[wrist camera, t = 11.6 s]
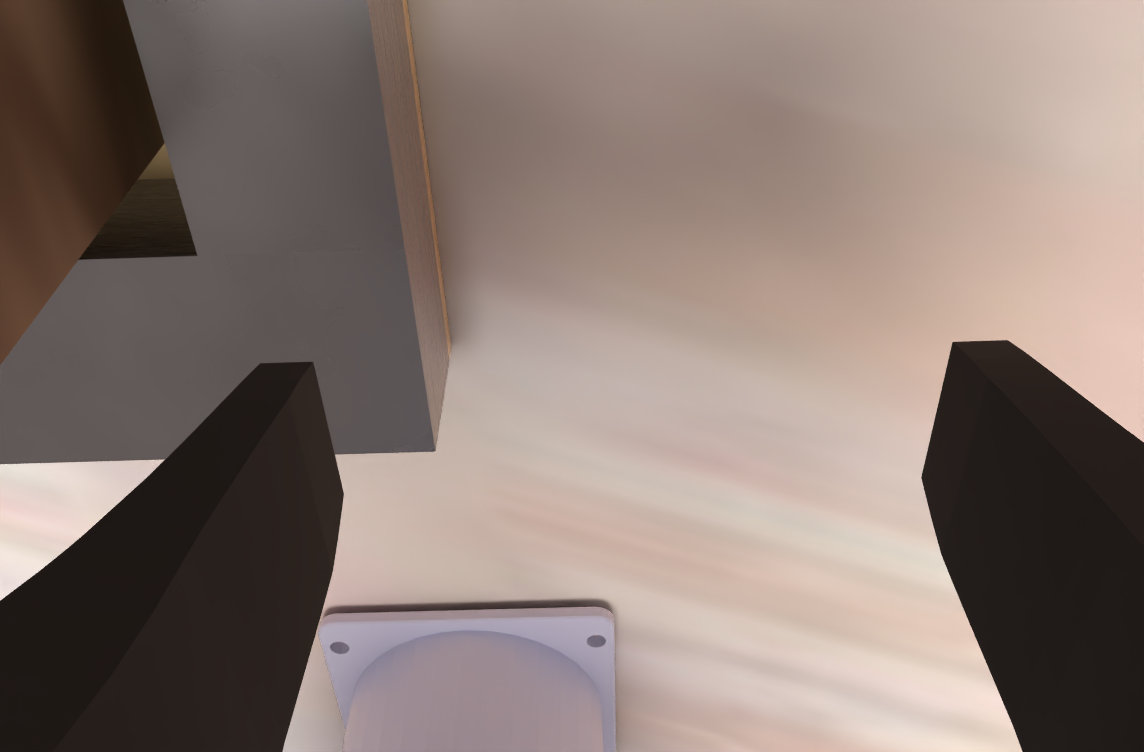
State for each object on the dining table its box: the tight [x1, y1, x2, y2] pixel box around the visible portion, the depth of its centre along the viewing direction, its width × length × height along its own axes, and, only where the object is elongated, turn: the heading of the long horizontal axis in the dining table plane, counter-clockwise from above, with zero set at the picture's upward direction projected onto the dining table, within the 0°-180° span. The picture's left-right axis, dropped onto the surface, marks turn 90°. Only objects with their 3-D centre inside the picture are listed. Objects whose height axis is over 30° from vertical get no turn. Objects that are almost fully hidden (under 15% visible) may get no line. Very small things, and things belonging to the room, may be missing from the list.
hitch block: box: [0, 0, 451, 464], centre depth 17 cm, size 15×13×4 cm
